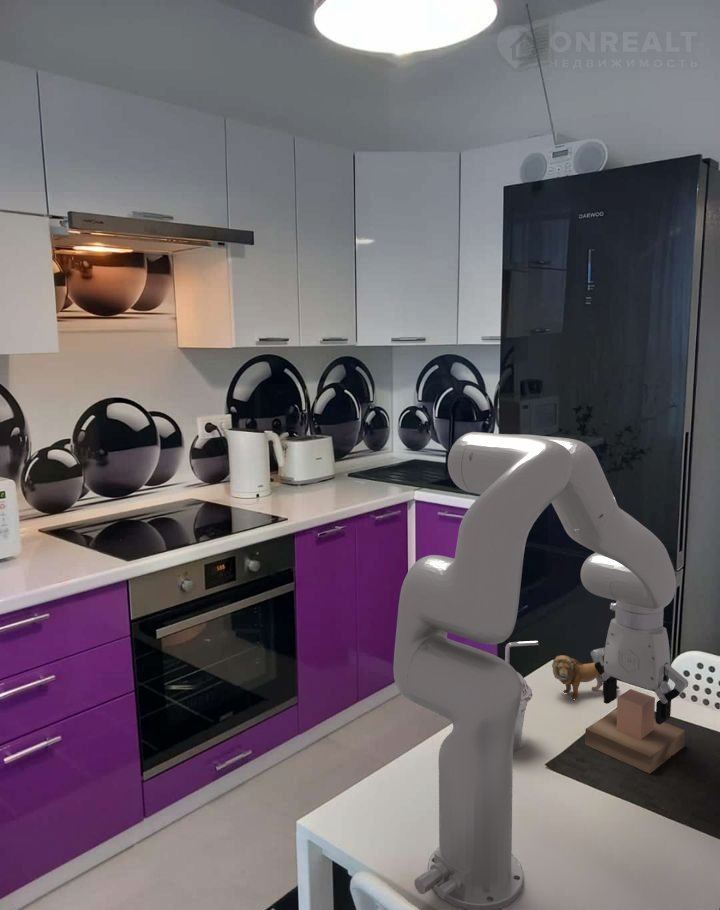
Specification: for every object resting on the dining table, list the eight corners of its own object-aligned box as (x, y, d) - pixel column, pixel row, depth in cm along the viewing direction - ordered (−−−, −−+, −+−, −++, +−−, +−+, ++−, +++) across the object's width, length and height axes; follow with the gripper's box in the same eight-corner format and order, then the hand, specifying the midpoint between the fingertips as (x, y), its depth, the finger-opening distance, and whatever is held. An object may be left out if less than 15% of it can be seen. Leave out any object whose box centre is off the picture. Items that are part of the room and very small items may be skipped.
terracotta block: (640, 739, 126) (642, 706, 125) (616, 729, 129) (617, 697, 128) (653, 729, 129) (655, 697, 128) (629, 720, 132) (630, 688, 131)
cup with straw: (500, 727, 137) (501, 624, 134) (543, 745, 130) (545, 637, 127) (472, 745, 131) (473, 638, 128) (516, 765, 124) (518, 653, 121)
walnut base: (649, 773, 121) (650, 756, 121) (585, 744, 130) (585, 728, 130) (684, 746, 129) (685, 730, 129) (621, 720, 138) (621, 705, 138)
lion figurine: (559, 706, 144) (560, 662, 142) (546, 693, 149) (546, 651, 148) (626, 696, 147) (627, 653, 146) (611, 684, 152) (612, 642, 151)
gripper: (582, 609, 130) (579, 700, 133) (678, 637, 117) (673, 738, 120) (605, 598, 135) (602, 687, 137) (700, 625, 122) (694, 722, 124)
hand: (635, 710), depth 128 cm, fingers open, 9 cm apart
